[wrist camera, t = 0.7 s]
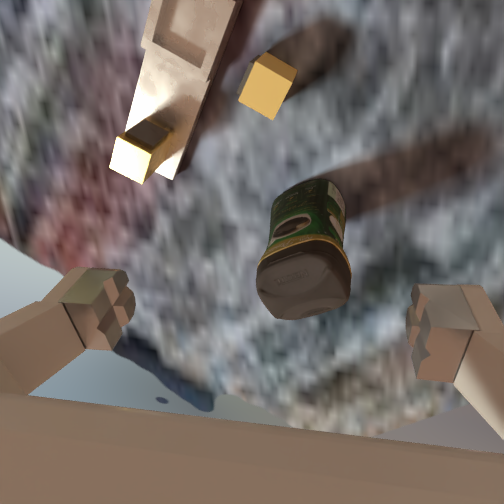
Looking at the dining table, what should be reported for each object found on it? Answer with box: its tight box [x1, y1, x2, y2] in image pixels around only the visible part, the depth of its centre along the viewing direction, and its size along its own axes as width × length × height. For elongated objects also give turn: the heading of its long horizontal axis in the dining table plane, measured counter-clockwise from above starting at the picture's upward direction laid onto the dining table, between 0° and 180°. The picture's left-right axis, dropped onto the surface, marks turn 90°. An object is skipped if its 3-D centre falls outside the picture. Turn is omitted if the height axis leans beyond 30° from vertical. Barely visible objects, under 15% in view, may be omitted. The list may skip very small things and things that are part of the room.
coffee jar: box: [256, 179, 352, 320], centre depth 42 cm, size 10×8×19 cm
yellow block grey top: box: [236, 52, 298, 120], centre depth 38 cm, size 4×4×7 cm
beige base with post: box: [110, 0, 243, 184], centre depth 40 cm, size 22×8×9 cm, turn 154°
